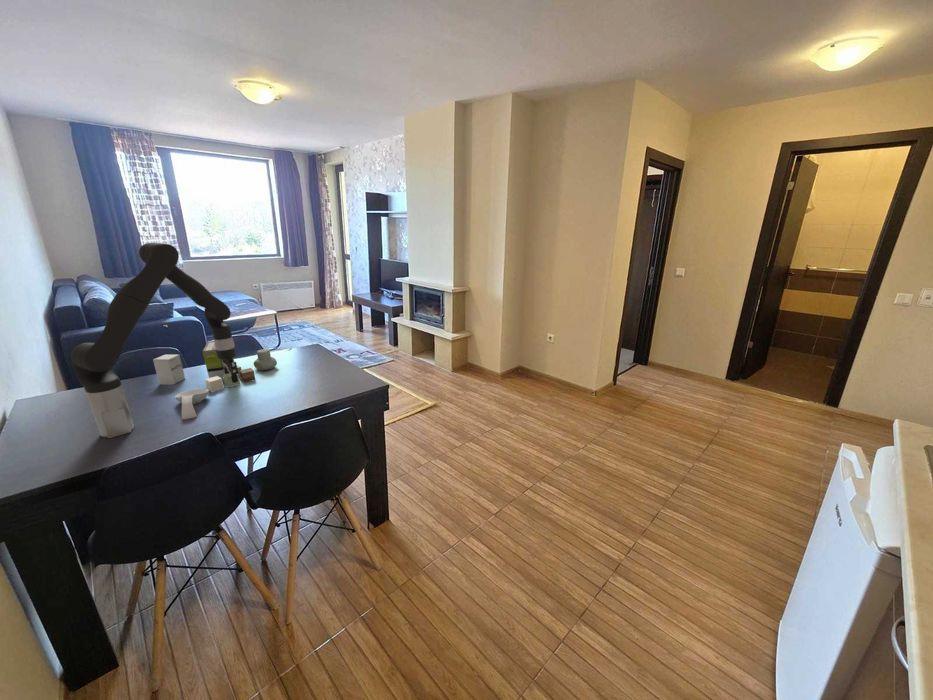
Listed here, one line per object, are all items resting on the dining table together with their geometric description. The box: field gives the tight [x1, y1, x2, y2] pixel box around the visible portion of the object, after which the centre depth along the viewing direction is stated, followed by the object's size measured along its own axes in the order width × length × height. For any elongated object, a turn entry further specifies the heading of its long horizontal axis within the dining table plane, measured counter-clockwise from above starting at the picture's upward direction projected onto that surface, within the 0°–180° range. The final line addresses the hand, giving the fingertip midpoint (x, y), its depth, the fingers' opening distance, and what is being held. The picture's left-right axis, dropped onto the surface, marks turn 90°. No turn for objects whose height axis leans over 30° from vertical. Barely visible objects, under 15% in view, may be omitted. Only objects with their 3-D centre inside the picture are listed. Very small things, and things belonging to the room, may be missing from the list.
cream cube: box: [204, 376, 224, 393], centre depth 172 cm, size 5×5×5 cm
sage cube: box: [222, 373, 241, 388], centre depth 177 cm, size 5×5×5 cm
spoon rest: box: [174, 388, 210, 421], centre depth 155 cm, size 24×12×7 cm, turn 31°
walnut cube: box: [239, 367, 256, 384], centre depth 182 cm, size 5×5×5 cm
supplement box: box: [152, 354, 186, 386], centre depth 178 cm, size 7×7×13 cm
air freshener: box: [253, 348, 278, 371], centre depth 195 cm, size 11×8×10 cm
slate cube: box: [233, 365, 242, 378], centre depth 186 cm, size 5×5×5 cm
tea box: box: [202, 341, 235, 378], centre depth 189 cm, size 15×10×15 cm
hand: (232, 379), depth 177 cm, fingers open, 8 cm apart
